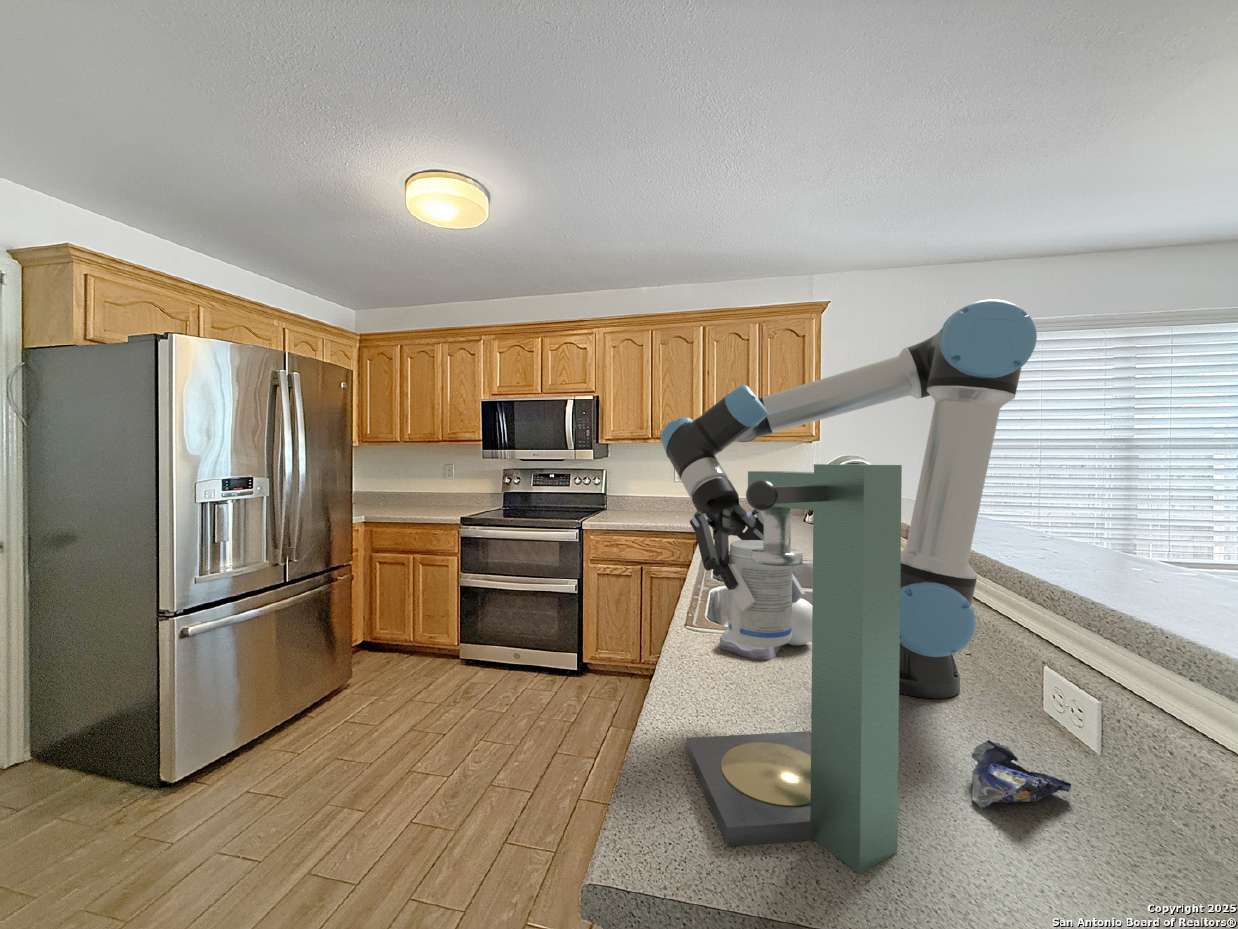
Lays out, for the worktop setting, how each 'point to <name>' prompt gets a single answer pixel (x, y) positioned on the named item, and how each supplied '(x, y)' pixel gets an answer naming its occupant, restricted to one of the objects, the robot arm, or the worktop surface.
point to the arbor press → (826, 677)
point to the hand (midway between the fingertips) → (774, 602)
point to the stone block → (747, 648)
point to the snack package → (1008, 777)
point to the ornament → (801, 623)
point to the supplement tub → (761, 599)
